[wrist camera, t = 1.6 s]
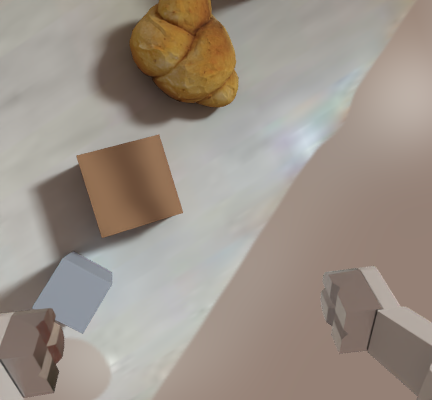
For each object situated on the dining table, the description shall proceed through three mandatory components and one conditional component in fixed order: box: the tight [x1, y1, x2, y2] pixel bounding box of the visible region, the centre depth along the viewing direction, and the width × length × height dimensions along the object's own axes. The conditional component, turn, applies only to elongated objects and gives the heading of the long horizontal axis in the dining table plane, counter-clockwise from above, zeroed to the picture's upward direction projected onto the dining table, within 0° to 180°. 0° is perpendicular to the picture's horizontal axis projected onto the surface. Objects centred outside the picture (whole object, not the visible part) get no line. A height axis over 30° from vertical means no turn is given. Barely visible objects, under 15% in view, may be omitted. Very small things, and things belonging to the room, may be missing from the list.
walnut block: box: [77, 135, 183, 238], centre depth 41 cm, size 8×8×5 cm
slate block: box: [32, 251, 112, 334], centre depth 37 cm, size 4×4×9 cm
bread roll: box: [129, 0, 238, 107], centre depth 42 cm, size 13×10×8 cm
